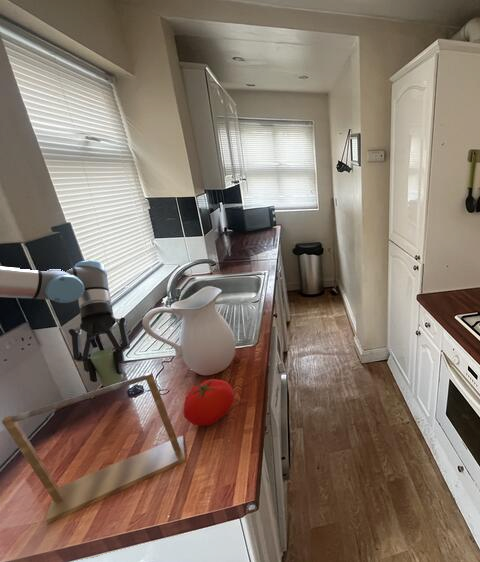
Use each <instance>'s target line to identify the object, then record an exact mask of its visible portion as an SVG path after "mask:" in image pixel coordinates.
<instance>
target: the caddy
mask: <svg viewBox="0 0 480 562" xmlns="http://www.w3.org/2000/svg"><path fill="white" fill-rule="evenodd" d="M90 342H91V344H92V346H93V349H96V348H98V350H96V351H95V352H92V354H91V356H90V359H91V361H92V363H93V366H94V368H95V370H96V376H97V378H98V379H99V381H100V384H101V385H102V386H103V387H107V386H110V385H113V384H116V383H120V382H122V380H123V379H124V374H123V373H122V374H120V375H119V374H117V373H116V367H115V361H114V355H113V352H114V349H112V348H111V347H110V348H105V346H104V343H103V341H102V339H101V336H100V335H99V334H98V331H95V332H93V333H92V336H91V338H90Z"/></svg>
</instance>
